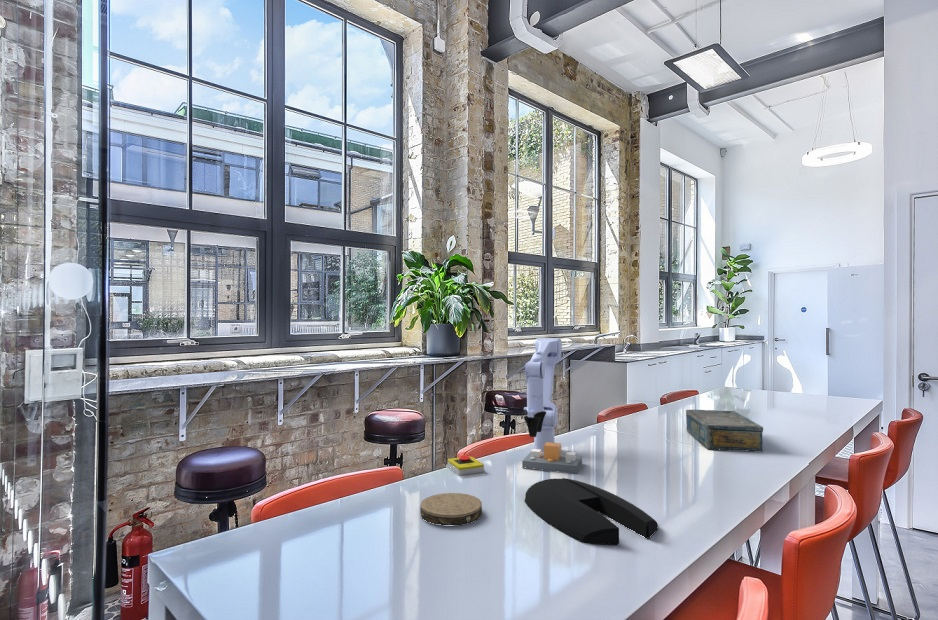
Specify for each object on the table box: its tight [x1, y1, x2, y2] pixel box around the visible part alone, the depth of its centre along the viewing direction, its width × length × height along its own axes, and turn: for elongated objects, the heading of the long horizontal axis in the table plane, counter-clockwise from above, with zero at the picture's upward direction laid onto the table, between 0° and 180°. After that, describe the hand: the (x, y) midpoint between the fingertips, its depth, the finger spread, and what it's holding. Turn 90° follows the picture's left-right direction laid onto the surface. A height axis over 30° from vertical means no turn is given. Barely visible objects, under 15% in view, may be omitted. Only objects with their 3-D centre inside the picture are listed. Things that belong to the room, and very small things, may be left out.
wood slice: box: [419, 492, 483, 526], centre depth 135 cm, size 16×16×3 cm
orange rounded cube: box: [544, 442, 562, 460], centre depth 178 cm, size 5×5×4 cm
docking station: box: [524, 477, 659, 546], centre depth 136 cm, size 25×40×5 cm, turn 22°
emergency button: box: [445, 455, 488, 479], centre depth 173 cm, size 9×4×15 cm
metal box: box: [685, 409, 764, 452], centre depth 210 cm, size 21×32×10 cm, turn 170°
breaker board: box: [521, 448, 583, 474], centre depth 177 cm, size 12×18×4 cm, turn 69°
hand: (535, 434), depth 183 cm, fingers open, 7 cm apart
